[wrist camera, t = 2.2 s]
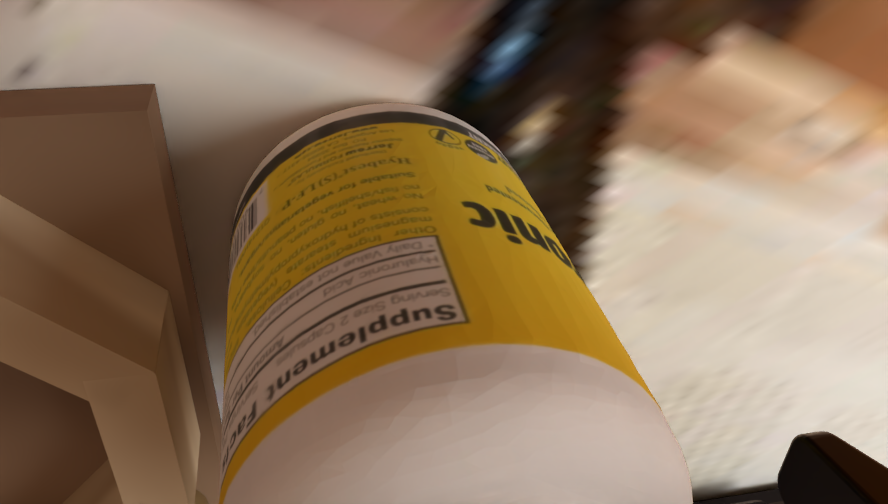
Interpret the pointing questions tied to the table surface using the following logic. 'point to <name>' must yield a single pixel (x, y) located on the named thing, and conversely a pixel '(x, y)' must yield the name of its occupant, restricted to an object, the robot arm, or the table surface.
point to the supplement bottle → (421, 334)
